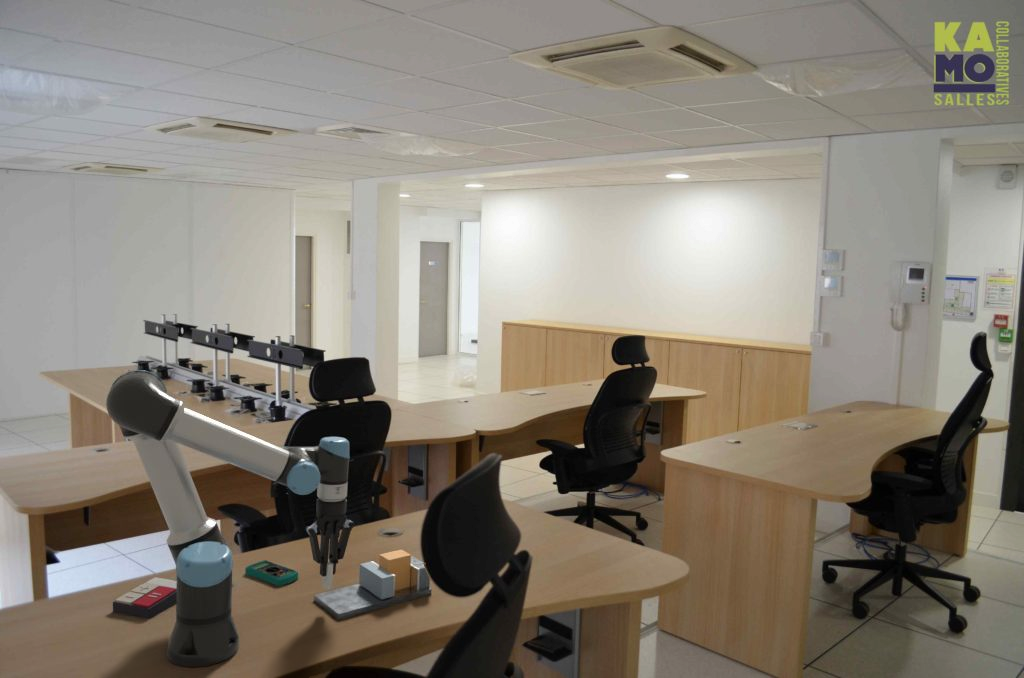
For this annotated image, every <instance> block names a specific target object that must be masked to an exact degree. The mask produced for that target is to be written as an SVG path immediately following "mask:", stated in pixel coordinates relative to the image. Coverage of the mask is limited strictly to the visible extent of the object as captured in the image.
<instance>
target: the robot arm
mask: <svg viewBox="0 0 1024 678" xmlns="http://www.w3.org/2000/svg"><path fill="white" fill-rule="evenodd" d="M105 404H106V405H105V406H106V411H107V413H108V415H109V417H110V418H111V420H112V421H113V422H114V423H116V425H118V427H119V430H120V431H121V435H122V436H123V438H125V439H128V440H130V441H132V442H133V444H134V446H135V448H136V450H137V451H136V452H137V453H138V456H139V459H140V461H141V463H142V466H143V468H144V470H145V473H146V476H147V477H148V480H149V483H150V485H151V488H152V490H153V493H154V495H155V498H156V501H157V502H158V505H159V507H160V510H161V513H162V516H163V517H164V519H165V522H166V525H167V528H168V530H169V534H168V537H167V539H166V544H167V547H168V549H169V552H170V554H171V556H172V559H173V561H174V563H175V573H176V581H177V595H176V603H175V605H176V606H175V609H176V610H175V611H176V612H175V614H176V615H175V616H176V619H175V623H174V625H173V629H172V632H171V634H170V636H169V640H168V643H167V650H166V651H167V652H166V653H167V659H168V661H169V662H171V663H172V664H174V665H176V666H181V667H188V668H189V667H190V668H197V667H206V666H212V665H216V664H219V663H222V662H224V661H226V660H228V659H230V658H231V657H233V656H234V655H235V654H236V653H237V652H238V651H239V649H240V635H239V632H238V629H237V627H236V623H235V620H234V617H233V615H232V610H233V609H232V605H233V603H232V602H233V600H232V598H233V597H232V596H233V595H232V594H233V568H234V558H233V552H232V550H231V548H229V545H228V543H227V540H226V539H225V537H224V536H223V535H222V533H221V530H220V528H219V526H218V523H217V521H216V519H215V518H211V517H209V516H207V514H206V511H205V508H204V506H203V503H202V501H201V498H200V495H199V493H198V490H197V488H196V485H195V483H194V480H193V478H192V475H191V472H190V469H189V467H188V465H187V462H186V460H185V457H184V455H183V452H182V450H181V447H180V445H182V446H184V447H187V448H190V449H192V450H194V451H197V452H200V453H202V454H205V455H207V456H210V457H212V458H215V459H218V460H220V461H223V462H225V463H228V464H230V465H232V466H236V467H237V468H240V469H243V470H245V471H248V472H250V473H253V474H255V475H259V476H260V477H263V478H266V479H268V480H270V481H273V482H276V483H277V484H280V485H283V486H285V487H286V488H287V487H288V489H289V490H290V491H291V492H293V493H294V494H297V495H299V496H300V495H301V496H304V495H305V496H306V495H309V494H311V493H313V492H315V491H317V492H316V494H317V495H316V496H317V497H318V498H316V511H315V512H316V513H315V514H316V517H315V518H314V519H313V523H312V524H311V525H310V526H309V525H307V526H305V531H306V533H307V535H308V538H309V544H310V549H311V555H312V560H313V561H314V562H316V563H317V564H320V565H319V574H320V576H321V577H322V578H321V586H322V588H324V589H325V590H327V591H328V590H331V589H332V588H333V575H335V574H336V572H337V564H338V563H339V560H342V559H344V556H345V554H346V550H347V547H348V546H347V545H348V543H349V538H350V535H351V531H352V530H353V529H354V526H355V522H354V521H352V520H351V519H348V518H347V515H346V513H347V504H348V503H347V502H348V500H347V497H348V484H349V483H348V481H349V468H350V467H349V466H350V465H349V464H350V459H351V457H350V441H349V440H348V439H347V438H345V437H341V436H325V437H322V438H321V439H320V440H319V443H318V445H315V446H285V445H284V446H277V445H275V444H272V443H270V442H268V441H265V440H263V439H260V438H259V437H256V436H254V435H251V434H248V432H247V433H246V432H244V431H241V430H239V429H237V428H235V427H233V426H232V427H231V426H230V425H227V424H224V423H223V422H220V421H218V420H216V419H213V418H211V417H208V416H205V415H203V414H201V413H199V412H197V411H194V410H192V409H189V408H187V407H185V405H184V402H183V400H180V399H177V398H175V397H173V396H171V395H170V394H168V393H167V387H166V384H165V383H164V381H163V380H162V379H161V377H159V376H158V375H157V374H155V373H153V372H152V371H148V370H143V369H141V370H140V369H136V370H131V371H128V372H125V373H123V374H122V375H119V377H117V378H116V379H115V380H114V381H113V383H112V385H111V387H110V390H109V391H108V394H107V397H106V402H105ZM318 531H319V535H320V542H319V538H318V535H317V533H318Z"/></svg>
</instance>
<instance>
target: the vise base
mask: <svg viewBox="0 0 1024 678" xmlns="http://www.w3.org/2000/svg"><path fill="white" fill-rule="evenodd" d="M423 563H424V562H423V561H422V560H420V559H418V558H416V557H415V556H412V555H411V571H410V587H407V588H403V589H399V590H396V591H395V596H392V597H389V598H385V599H380V598H379V597H377V596H376V595H374V594H373V593H371V592H370V591H368V590H367V589H366V588H364V587H363V586H361V585H360V584H359V583H355V584H352V585H348V586H344V587H341V588H340V587H339V588H335V589H332V590H327V591H324V592H319V593H317V594H314V595H313V601H314V602H315V601H316V603H317V604H318V605H319V606H320V607H321V608H323V609H324V610H325V611H327V612H328V613H329V614H330V615H332V616H333V617H334V618H335V619H337V620H338V621H339V620H344V619H347V618H350V617H354V616H357V615H358V616H359V615H360V614H365V613H368V612H372V611H374V610H375V611H376V610H380V609H382V608H386V607H390V606H394V605H397V604H401V603H405V602H408V601H412V600H416V599H419V598H422V596H423V597H425V596H429V595H432V588H431V587H430V585H431V582H430V581H431V577H430V578H429V576H428V574H427V572H426V570H425V567H424V564H423Z"/></svg>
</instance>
